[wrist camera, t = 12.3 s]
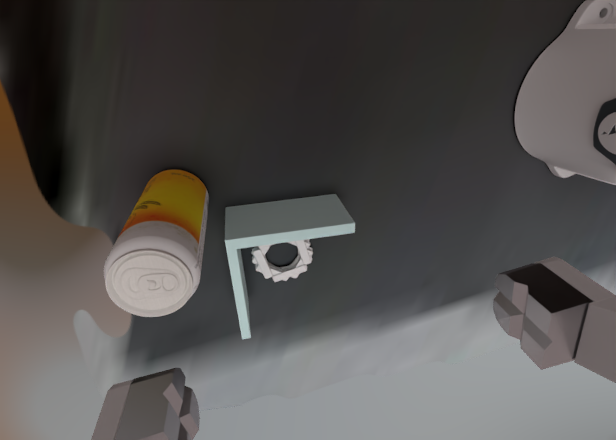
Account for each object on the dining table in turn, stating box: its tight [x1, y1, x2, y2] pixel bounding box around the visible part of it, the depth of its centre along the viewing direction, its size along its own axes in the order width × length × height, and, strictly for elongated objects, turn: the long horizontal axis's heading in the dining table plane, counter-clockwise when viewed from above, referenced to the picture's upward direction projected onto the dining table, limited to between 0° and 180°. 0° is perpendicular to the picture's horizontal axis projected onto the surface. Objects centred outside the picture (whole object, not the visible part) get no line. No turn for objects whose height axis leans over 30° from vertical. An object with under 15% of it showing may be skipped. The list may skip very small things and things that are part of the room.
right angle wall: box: [225, 194, 355, 339], centre depth 39 cm, size 12×12×8 cm
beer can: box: [104, 170, 209, 317], centre depth 30 cm, size 6×6×15 cm
